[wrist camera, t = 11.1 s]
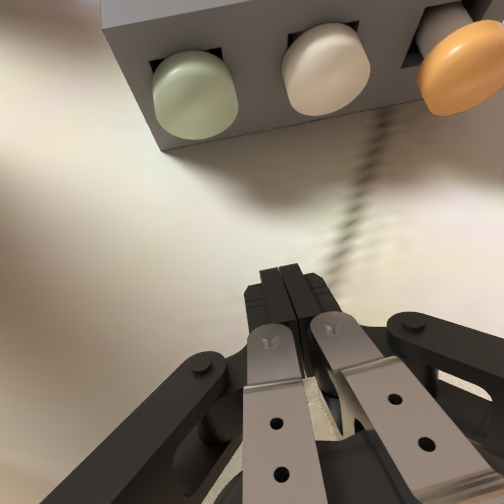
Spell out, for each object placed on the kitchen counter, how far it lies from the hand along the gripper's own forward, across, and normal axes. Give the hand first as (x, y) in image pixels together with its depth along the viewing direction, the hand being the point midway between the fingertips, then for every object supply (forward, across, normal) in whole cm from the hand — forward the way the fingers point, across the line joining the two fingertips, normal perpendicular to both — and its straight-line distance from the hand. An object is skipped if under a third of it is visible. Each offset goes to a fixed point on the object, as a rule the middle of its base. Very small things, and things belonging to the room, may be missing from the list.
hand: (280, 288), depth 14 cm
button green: (+10, +2, -7) cm, 12 cm away
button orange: (+9, -11, -6) cm, 15 cm away
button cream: (+10, -5, -7) cm, 13 cm away
